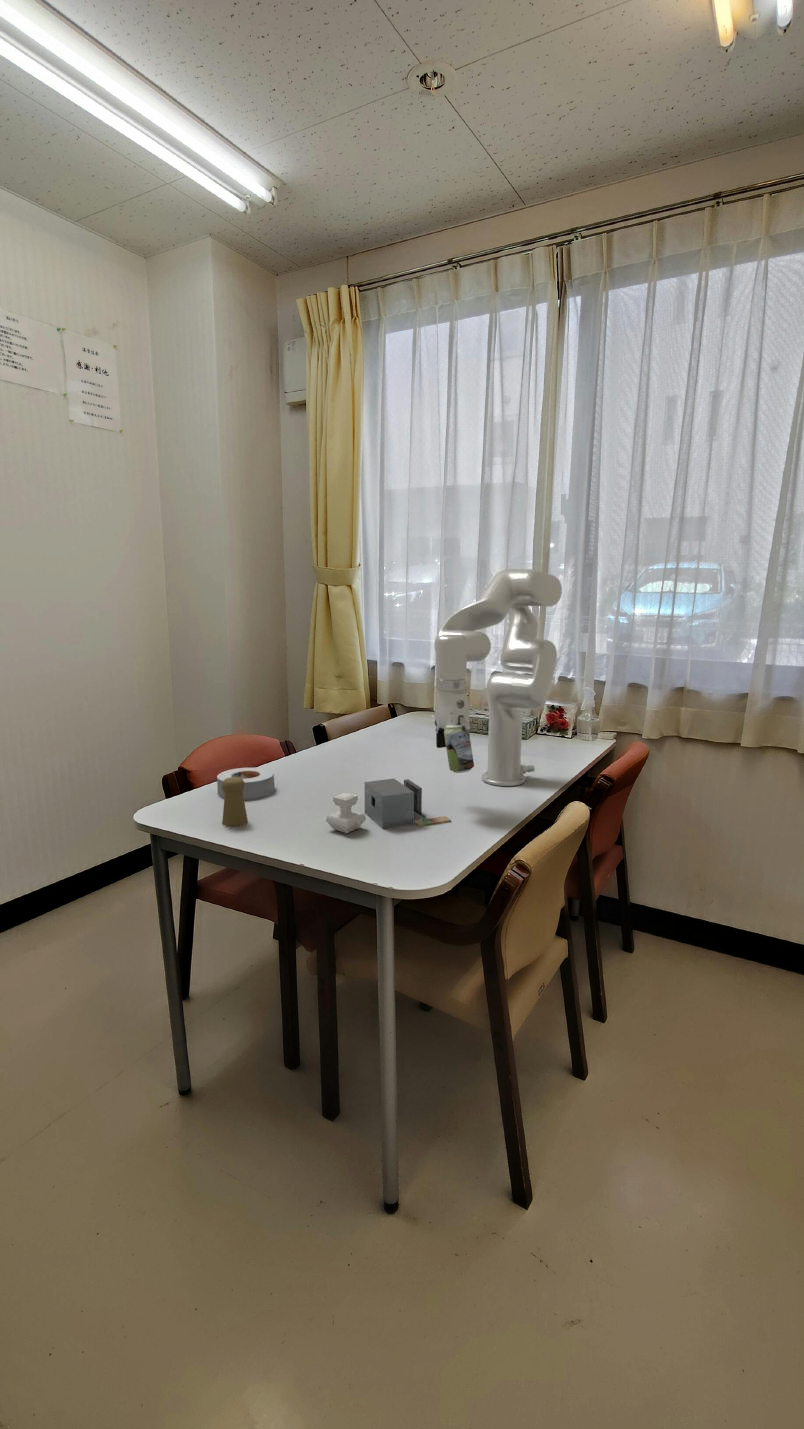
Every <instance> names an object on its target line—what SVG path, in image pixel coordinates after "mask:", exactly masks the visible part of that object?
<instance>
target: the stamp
mask: <svg viewBox="0 0 804 1429" xmlns="http://www.w3.org/2000/svg"><path fill="white" fill-rule="evenodd" d="M358 800H359V798H358V794H352V793H347V792H342V793H340V794H338V795H335V796H333V797H332V802H333V803H334V805H335V806H337V807H339V808H340V810H338V811H335V812H332V813H331V814H328V815H327V816H326V819H325V822H327V824H328V825H329V826H330V827H331V828H332V830H336V831H339V832H341V833H345V834H348V833H351V832H353V831H355V830H357V829H360V827H361V826H362V824H363V823H364V822H365V821H366V819H367V818H366V814H365V813H362V812H358V811H355V810H352V807H353V806H355V805H356V804H357V802H358Z"/></svg>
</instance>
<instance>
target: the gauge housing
mask: <svg viewBox="0 0 804 1429" xmlns="http://www.w3.org/2000/svg"><path fill="white" fill-rule="evenodd" d="M364 814H365V815H367V816H368V817H369V818H370V819H371V820H372V821H373V822H374V823H375V824H377V826H379V827H380V828H381V829H382V830H384V829H391V828H396V827H397V828H398V827H404V826H409V825H410V826H411V825H414V824H415V823H414V821H415V820H414V819H415V818H414V817H415V815H414V814H415V812H414V792H413V791H411V790H410V789H409V788H407V787H406V786H404V783H402V782H400V781H398V780H397V779H396V778H389V779H388V778H387V779H378V780H372V781H364Z"/></svg>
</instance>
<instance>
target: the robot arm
mask: <svg viewBox="0 0 804 1429" xmlns="http://www.w3.org/2000/svg"><path fill="white" fill-rule="evenodd" d="M562 594H563V588H562V584H561V580H560V579H559V578H558V577H557V576H556V575H553V574H550V573H548V572H545V571H541V570H537V569H531V568H529V569H528V568H527V569H524V568H523V569H521V568H520V569H518V568H517V569H516V568H515V569H514V568H513V569H503V570H500V571H497V572H496V574H495V575H494V576H493V577H492V579H491V580H490V582H489V584H488V585H487V586H486V588H485V589H484V591H483V592H482V594H481V595H480V597H479V598H478V599H477V600H476V601H474V602H472V603H471V604H468V605H467V606H465V607H463V608H461V609H459V610H457V611H456V612H454V613H453V614H451V615H450V616H449V617H448V618H447V619H446V621H445V622H444V623H443V625H442V626H441V627H440V629H439V630H438V632H437V634H436V636H435V639H434V651H435V692H436V698H435V712H434V713H433V718H434V725H435V733H436V734H435V735H436V736H435V737H436V738H435V739H436V740H435V741H436V742H435V743H436V745H435V746H436V748H437V749H442V748H446V743H445V736H444V730H445V728H446V727H445V726H446V725H450V726H455V725H458V723H459V724H460V725H463V729H464V735H467V736H468V737H469V734H470V732H471V726H470V722H471V721H470V706H469V705H470V703H469V699H468V692H467V686H468V685H467V682H468V681H467V679H468V678H467V676H468V675H467V673H468V672H467V667H468V665H467V664H468V663H469V662H474V663H475V662H476V663H477V662H480V661H484V660H485V659H486V658H487V657H488V655H489V654H490V652H491V650H492V643H491V642H492V641H491V640H490V637H489V636H488V635H487V634H486V633H484V632H481V631H478V630H483V629H487V628H490V627H493V626H496V625H499V624H500V623H502V622H503V621H504V619H505V617H507V615H508V626H507V630H506V634H505V638H504V641H503V646H502V648H501V653H500V664H501V666H502V667H503V668H504V669H507V670H509V671H515V672H522V673H514V672H497V673H494V674H492V675H491V676H490V677H489V678H488V679H487V682H486V687H485V688H486V698H487V704H488V706H487V707H488V738H487V740H488V742H487V743H488V744H487V745H488V746H487V768H486V769H487V771H486V772H484V773H483V774H481V780H482V781H483V782H484V783H485V784H489V785H493V786H498V787H500V786H501V787H514V786H519V785H522V784H524V783H525V782H526V776H525V775H524V774H526V773H534V772H535V766H534V765H532V764H531V765H526V764H521V762H522V741H523V740H522V738H523V737H522V736H523V735H522V734H523V719H522V717H521V714H520V713H519V710H518V709H527V710H535V711H536V710H540V709H542V708H544V706H545V705H546V703H547V701H548V697H549V694H550V690H551V686H552V682H553V679H554V675H555V672H556V671H555V670H556V668H557V662H558V661H557V659H558V653H557V652H558V651H557V648H556V645H555V643H553V642H552V641H550V640H548V639H539V638H537V633H538V630H539V624H538V621H537V618H536V616H535V615H534V613H533V612H532V610H531V609H530V607H553V606H556V605H557V604H558V603H559V601H560V599H561V598H562ZM524 672H525V673H532V674H524ZM517 708H518V709H517Z"/></svg>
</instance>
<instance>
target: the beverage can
mask: <svg viewBox="0 0 804 1429" xmlns="http://www.w3.org/2000/svg"><path fill="white" fill-rule="evenodd" d="M445 727H446V728H445V730H444V736H445V743H446V747H445V748H446V755H447V761H448V767H449V770H450V771H452V772H453V773H455V774H461V773H466V772H470V771H472V769H473V768H474V767H475V762H474V757H473V750H472V742H471V736H470V733H469V737H468V736H467V735H464V729H463V725H460V724H459V723H458V725H455V726H450V725H446V726H445Z"/></svg>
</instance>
